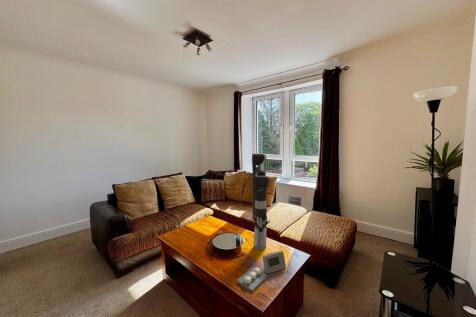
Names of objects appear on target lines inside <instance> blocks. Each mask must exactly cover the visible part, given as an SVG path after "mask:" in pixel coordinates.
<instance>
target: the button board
mask: <svg viewBox="0 0 476 317" xmlns="http://www.w3.org/2000/svg"><path fill="white" fill-rule="evenodd" d="M254 268H255V266H252V267H251V268H249V269H248V270H247V271H246V272H244V274H242V275H241V276H240V277H239V278H237V279H236V282H237V284H239V285H240V286H242V287H244V288H245V289H247V291H249V292H251V293H254V292H255V290H257V288H258V287H259V286H261V285H262V284H263V283H264V282H265V281H266V279H268V277H269V275H268V273H267V274H266V273H265V272H264V271H262V270H261V274H260V275H259V276H257V275H256V278H255V280H254V281H253V280H251V283H250V284H249V285H246V284H245V283H244V277H245V276H249V273H250V272H254Z"/></svg>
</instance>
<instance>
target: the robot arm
mask: <svg viewBox="0 0 476 317" xmlns="http://www.w3.org/2000/svg"><path fill="white" fill-rule="evenodd" d="M251 166H252V180H251V181H252V182H251V183H252V219H253V221H254V234H253V247H254V248H255V249H257V250H261V251H262V250H263V251H264V250H265V249H267V225H268V224H270V222H271V220H270V219H268V216H267V213H268V202H267V192H268V187H269V184H270V178H269V176H267V174H266V172H267V171H266V167H267V155H266V153H252V155H251Z"/></svg>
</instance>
